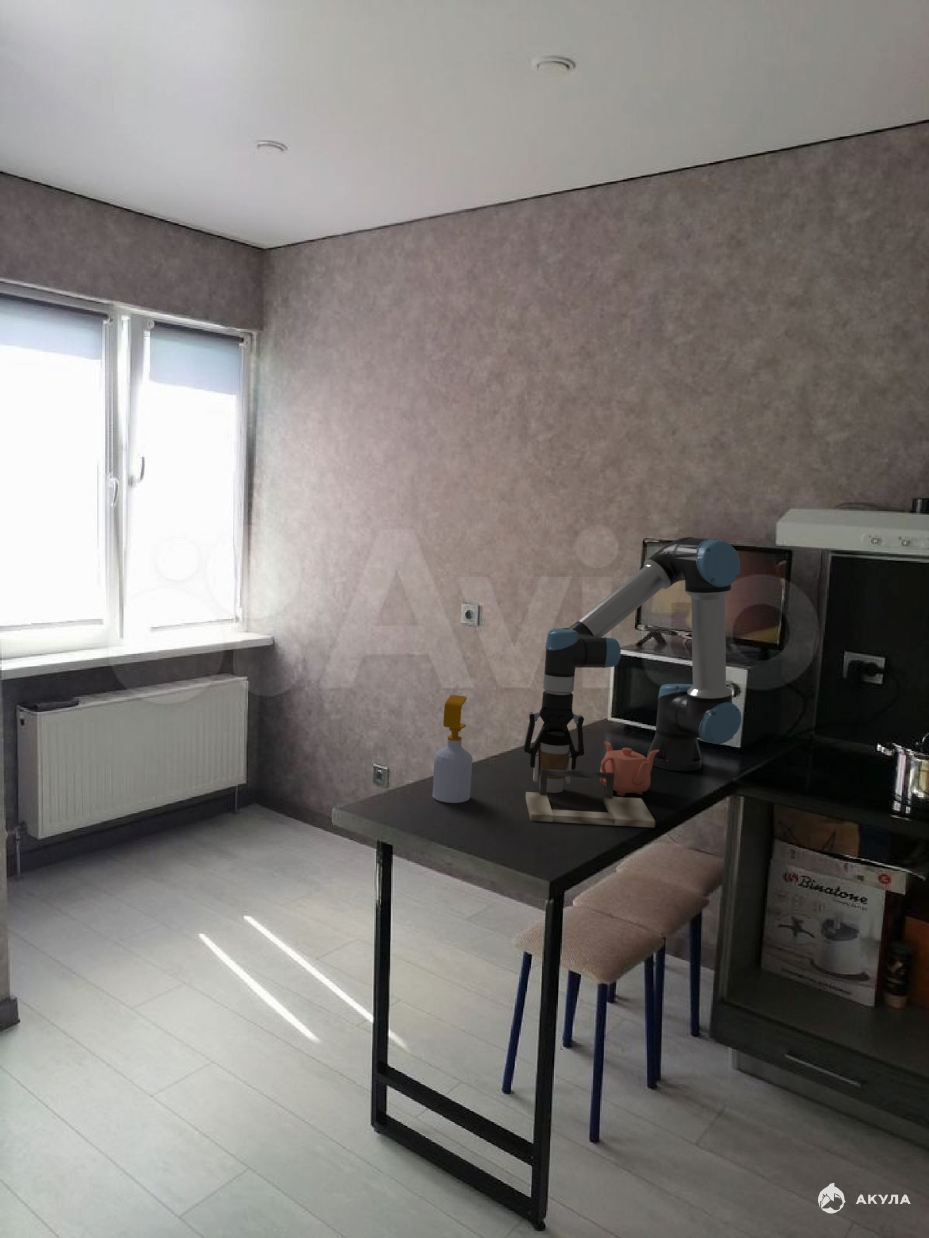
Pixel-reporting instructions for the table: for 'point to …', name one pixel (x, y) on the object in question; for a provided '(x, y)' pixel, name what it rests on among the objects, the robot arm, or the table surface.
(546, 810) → the cream rectangular frame
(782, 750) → the table surface
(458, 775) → the spray bottle
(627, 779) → the teapot
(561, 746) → the coffee cup
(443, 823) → the table surface
